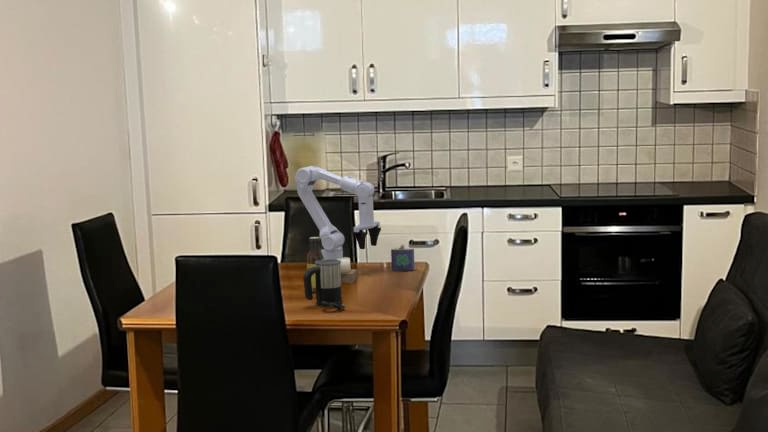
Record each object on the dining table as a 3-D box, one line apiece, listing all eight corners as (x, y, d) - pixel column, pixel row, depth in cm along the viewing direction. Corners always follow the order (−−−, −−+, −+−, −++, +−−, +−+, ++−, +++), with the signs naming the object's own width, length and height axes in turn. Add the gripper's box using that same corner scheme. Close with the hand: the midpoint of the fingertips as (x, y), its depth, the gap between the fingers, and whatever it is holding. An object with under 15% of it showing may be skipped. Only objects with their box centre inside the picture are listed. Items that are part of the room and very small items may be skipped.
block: (331, 284, 348) (331, 273, 347) (337, 279, 356) (336, 269, 355) (352, 284, 346) (351, 273, 346) (357, 279, 354) (356, 269, 353)
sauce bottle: (322, 293, 332) (320, 239, 329) (306, 292, 333) (303, 239, 330) (327, 289, 338) (325, 236, 335) (311, 288, 339) (308, 236, 336)
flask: (414, 269, 367) (413, 243, 365) (414, 271, 364) (413, 244, 363) (391, 270, 368) (390, 244, 366) (391, 272, 365) (390, 245, 363)
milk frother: (329, 299, 323) (327, 257, 320) (362, 305, 313) (361, 262, 310) (300, 307, 312) (298, 264, 310) (334, 313, 302) (332, 269, 300)
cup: (335, 272, 350) (334, 259, 349) (343, 269, 354) (342, 256, 353) (345, 273, 347) (344, 259, 346) (353, 270, 351) (352, 257, 350)
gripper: (363, 216, 352) (365, 251, 354) (385, 211, 364) (387, 244, 366) (348, 215, 356) (350, 249, 358) (371, 210, 368) (372, 243, 370)
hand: (368, 247), depth 362 cm, fingers open, 7 cm apart
